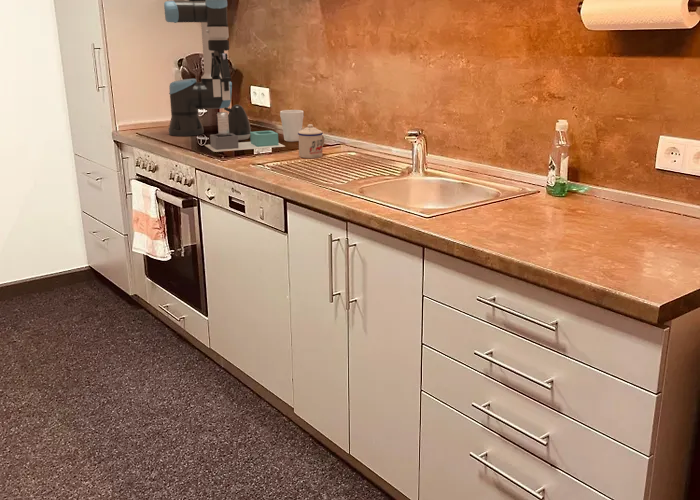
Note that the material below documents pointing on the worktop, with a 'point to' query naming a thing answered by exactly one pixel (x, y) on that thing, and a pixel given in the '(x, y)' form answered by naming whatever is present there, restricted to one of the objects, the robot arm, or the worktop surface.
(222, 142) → the mount board
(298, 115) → the foam cup
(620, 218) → the worktop surface
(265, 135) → the socket
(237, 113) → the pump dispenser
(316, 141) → the teacup with lid
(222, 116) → the lock pin
